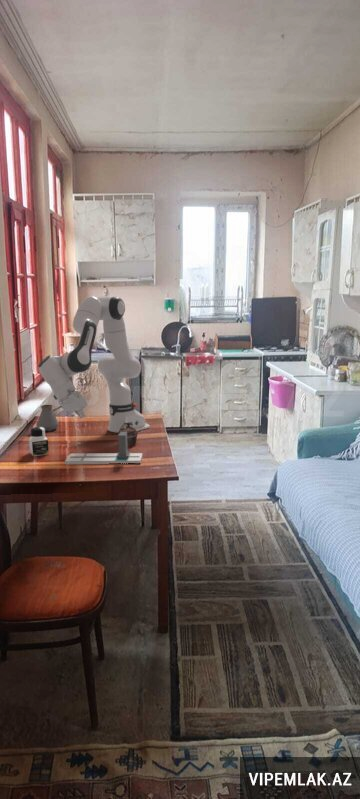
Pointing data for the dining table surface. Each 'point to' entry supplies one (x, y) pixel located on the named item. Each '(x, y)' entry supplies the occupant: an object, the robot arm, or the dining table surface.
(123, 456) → the fader cap
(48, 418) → the coffee pot
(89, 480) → the dining table surface
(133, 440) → the cupcake
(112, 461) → the console track
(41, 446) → the medicine bottle
